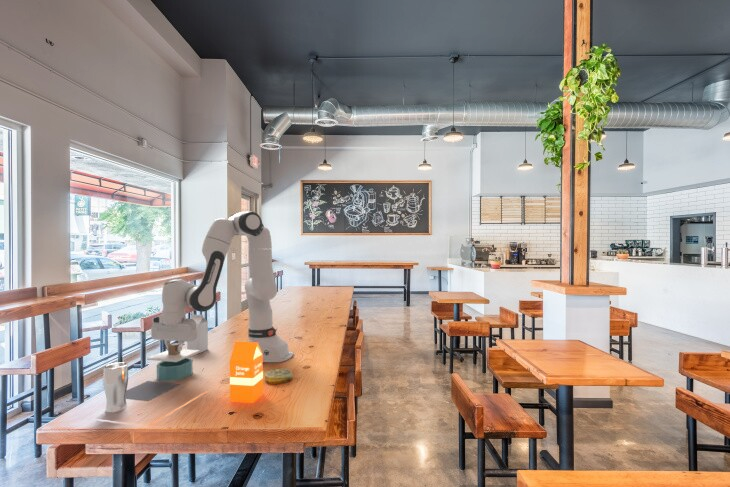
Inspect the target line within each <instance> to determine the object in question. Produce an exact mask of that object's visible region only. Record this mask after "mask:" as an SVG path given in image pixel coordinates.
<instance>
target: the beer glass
mask: <svg viewBox="0 0 730 487" xmlns="http://www.w3.org/2000/svg"><path fill="white" fill-rule="evenodd" d="M102 375H103V376H102V381H103V382H102V383H103V384H102V385H103V389H104V394H105V399H106V405H105V406H106V407H105V413H118V412H120V411H123V410H125V409H126V408H127V407H128V404H127V399H126V390H128V385H129V384H128V383H129V368H128V362H125V361H123V362H121V361H120V362H114V363H109V364H106V365H104V366H103V374H102Z"/></svg>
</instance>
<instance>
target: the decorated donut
mask: <svg viewBox="0 0 730 487" xmlns="http://www.w3.org/2000/svg"><path fill="white" fill-rule="evenodd" d="M291 378H293V372H292V370H290V369H287V368H281V367H280V368H274V369H271V370H269V371H266V372H265V374H264V380H265V381H266V383H267V384H271V385H278V384H284V383H286V382H289V380H290V379H291Z"/></svg>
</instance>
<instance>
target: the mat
mask: <svg viewBox="0 0 730 487" xmlns="http://www.w3.org/2000/svg"><path fill="white" fill-rule="evenodd" d="M181 385H182V384H181V383H174V382H173V383H172V382H166V381H164V382H163V381H155V380H154V381H152V380H147V381H145V382H142V383H140V384H137V385H136V386H133V387H131V388H129V389H127V390H126V400H132V401H133V400H134V401H142V402H143V401H144V402H149V401H152V400H153V399H155V398H157V397H160V396H161V395H163V394H164V393H165V394H166V393H167V392H169V391H171V390H173V389H175V388H176V387H179V386H181Z"/></svg>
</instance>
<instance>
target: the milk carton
mask: <svg viewBox="0 0 730 487" xmlns="http://www.w3.org/2000/svg"><path fill="white" fill-rule="evenodd" d="M189 319H193V320H194V321H195V322H196V329H197V339H196V340H194V341H192V342H187V341H186V349H189V350H200V352H199V353H198V354H201V353H202V352H205V351H207V350H209V336H208V335H209V333H208V328H209V327H208V326H209V325H208V322H209V321H208V320H206V317H204V314H191V315H190V318H189Z"/></svg>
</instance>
